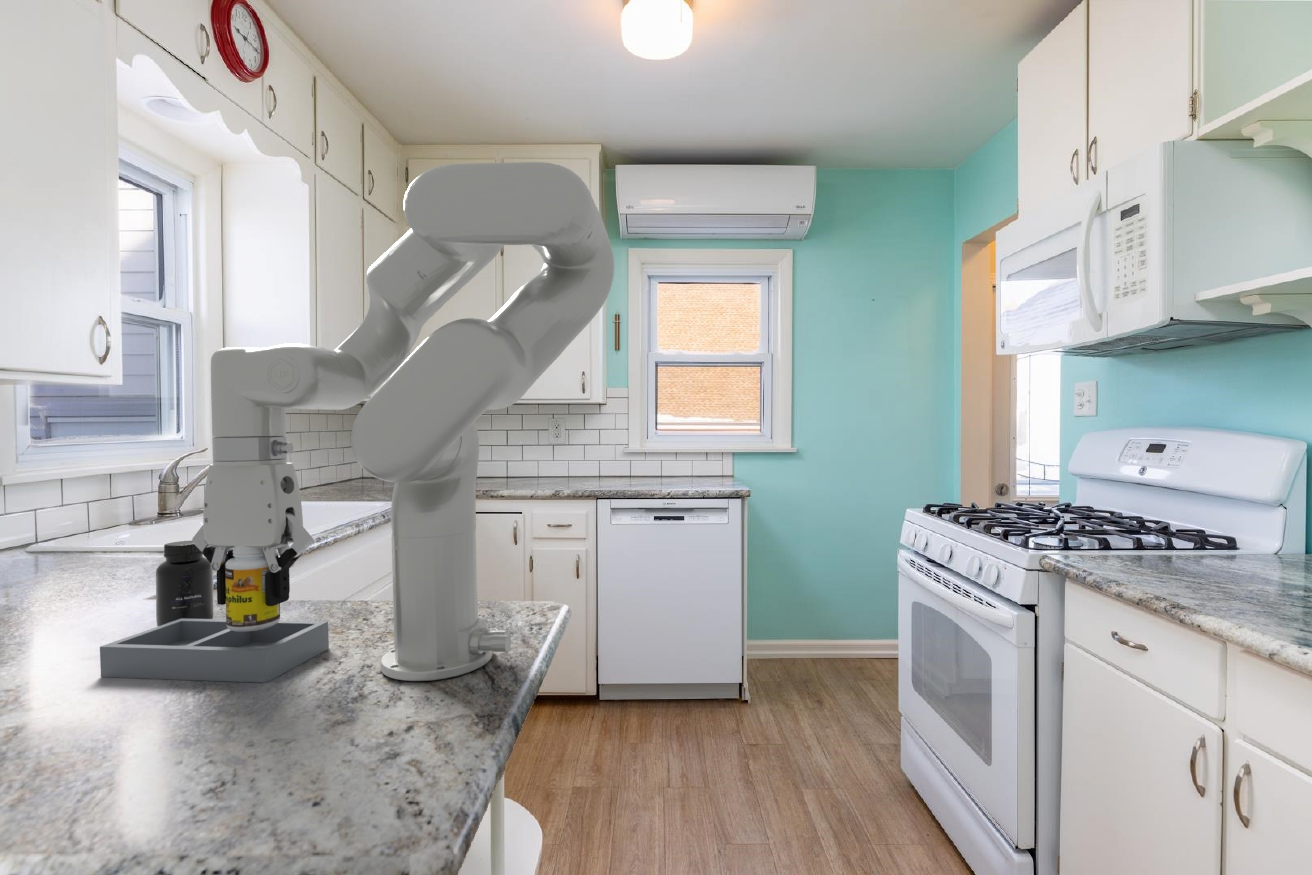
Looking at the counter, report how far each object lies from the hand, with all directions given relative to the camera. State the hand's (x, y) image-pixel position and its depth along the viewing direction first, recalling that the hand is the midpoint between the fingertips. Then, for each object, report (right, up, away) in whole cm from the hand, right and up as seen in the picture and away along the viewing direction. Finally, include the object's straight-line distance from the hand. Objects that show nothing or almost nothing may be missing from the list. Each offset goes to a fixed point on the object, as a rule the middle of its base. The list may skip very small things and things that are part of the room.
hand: (253, 600), depth 79 cm
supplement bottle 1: (-20, -8, +17) cm, 28 cm away
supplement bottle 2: (0, -3, 0) cm, 3 cm away
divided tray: (-5, -8, +1) cm, 9 cm away
